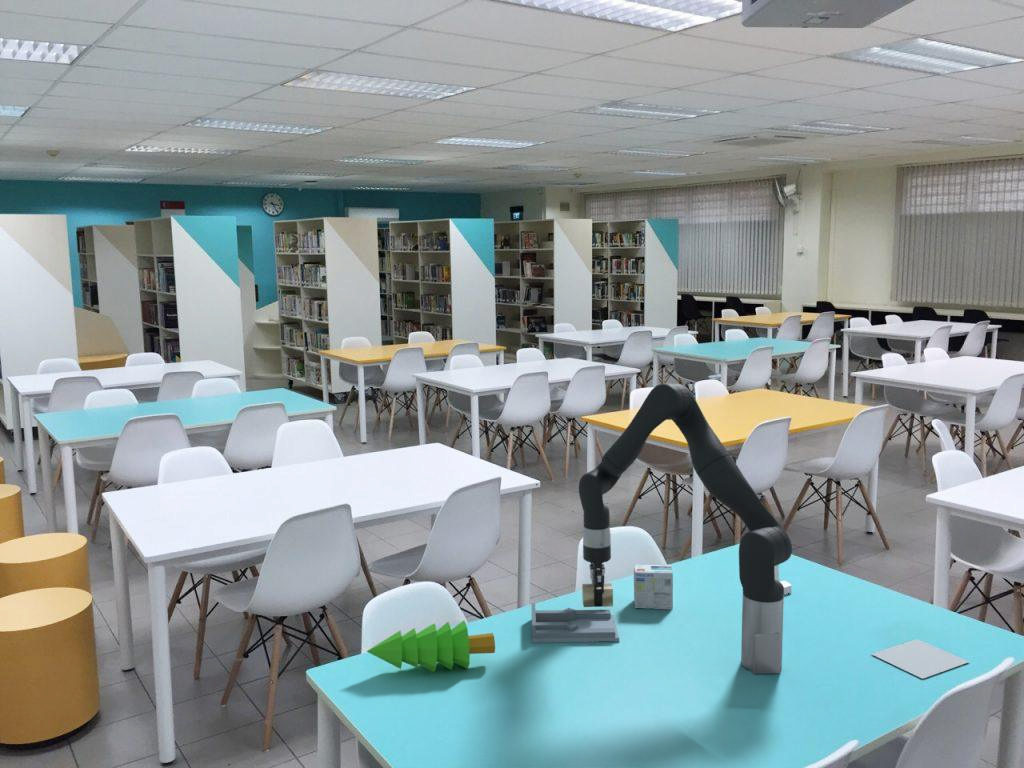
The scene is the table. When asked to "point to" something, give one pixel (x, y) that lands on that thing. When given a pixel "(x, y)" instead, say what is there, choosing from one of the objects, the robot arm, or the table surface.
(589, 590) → the birch block
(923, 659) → the paper stack
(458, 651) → the decorative tree
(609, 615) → the slot board
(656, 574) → the light bulb box
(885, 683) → the table surface
